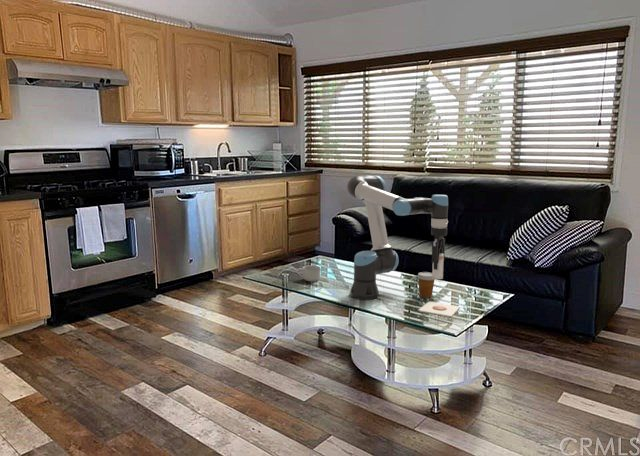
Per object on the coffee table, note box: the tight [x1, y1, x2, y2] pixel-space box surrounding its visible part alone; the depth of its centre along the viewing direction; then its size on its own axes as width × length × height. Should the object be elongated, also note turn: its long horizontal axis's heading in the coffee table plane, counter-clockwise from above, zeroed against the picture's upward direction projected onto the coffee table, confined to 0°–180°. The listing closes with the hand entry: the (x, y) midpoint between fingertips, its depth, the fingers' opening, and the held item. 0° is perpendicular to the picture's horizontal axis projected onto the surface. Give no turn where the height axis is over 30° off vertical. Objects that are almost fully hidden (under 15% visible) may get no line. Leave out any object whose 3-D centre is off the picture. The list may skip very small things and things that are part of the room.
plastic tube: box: [431, 253, 445, 280], centre depth 238 cm, size 5×5×12 cm
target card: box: [418, 300, 461, 318], centre depth 241 cm, size 16×16×1 cm
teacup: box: [296, 264, 322, 283], centre depth 291 cm, size 14×11×8 cm
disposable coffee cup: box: [417, 271, 436, 298], centre depth 262 cm, size 10×10×12 cm
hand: (437, 274), depth 239 cm, fingers closed on plastic tube, 5 cm apart
